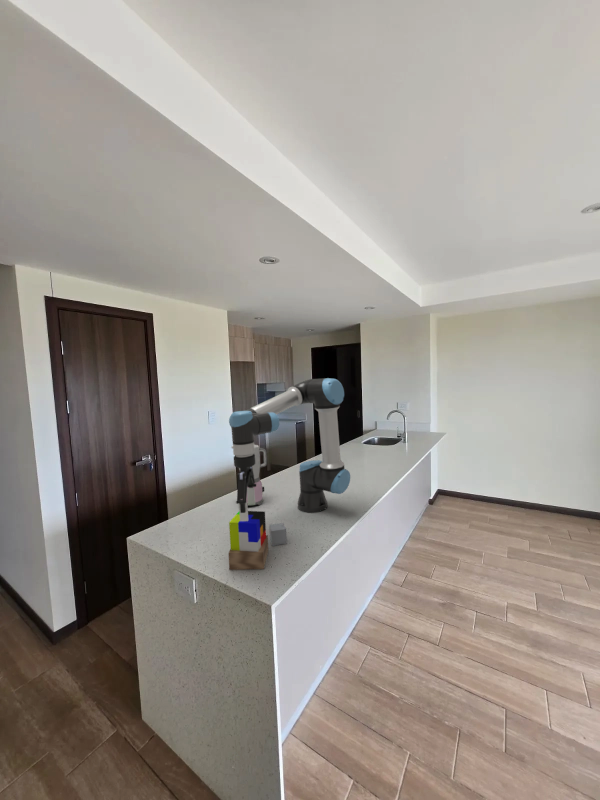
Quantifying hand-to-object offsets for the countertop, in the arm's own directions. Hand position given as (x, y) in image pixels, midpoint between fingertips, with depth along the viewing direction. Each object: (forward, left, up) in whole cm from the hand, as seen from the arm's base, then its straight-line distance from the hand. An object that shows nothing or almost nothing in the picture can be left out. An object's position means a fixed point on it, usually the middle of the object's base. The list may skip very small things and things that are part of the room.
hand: (248, 512), depth 115 cm
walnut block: (0, 0, -18) cm, 18 cm away
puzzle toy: (0, 0, -12) cm, 12 cm away
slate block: (-9, -13, -18) cm, 24 cm away
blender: (+8, -54, -18) cm, 57 cm away
